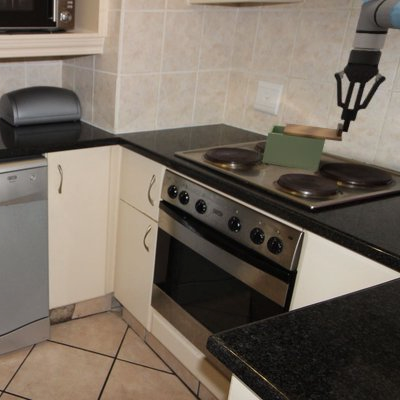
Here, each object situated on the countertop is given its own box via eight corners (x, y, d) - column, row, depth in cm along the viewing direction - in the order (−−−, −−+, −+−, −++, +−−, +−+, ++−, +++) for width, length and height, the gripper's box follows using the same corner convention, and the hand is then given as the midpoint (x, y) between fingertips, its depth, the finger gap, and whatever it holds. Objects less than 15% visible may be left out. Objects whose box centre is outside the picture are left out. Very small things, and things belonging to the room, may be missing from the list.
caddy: (318, 160, 156) (325, 131, 152) (317, 171, 145) (325, 140, 142) (266, 152, 162) (272, 124, 159) (262, 162, 152) (268, 132, 149)
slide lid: (340, 132, 150) (343, 122, 149) (341, 141, 140) (344, 130, 138) (285, 125, 157) (288, 116, 156) (283, 134, 147) (285, 123, 145)
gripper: (393, 49, 135) (369, 131, 144) (339, 47, 141) (320, 125, 150) (395, 52, 129) (370, 136, 138) (340, 49, 135) (319, 130, 144)
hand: (344, 130), depth 144 cm, fingers closed
